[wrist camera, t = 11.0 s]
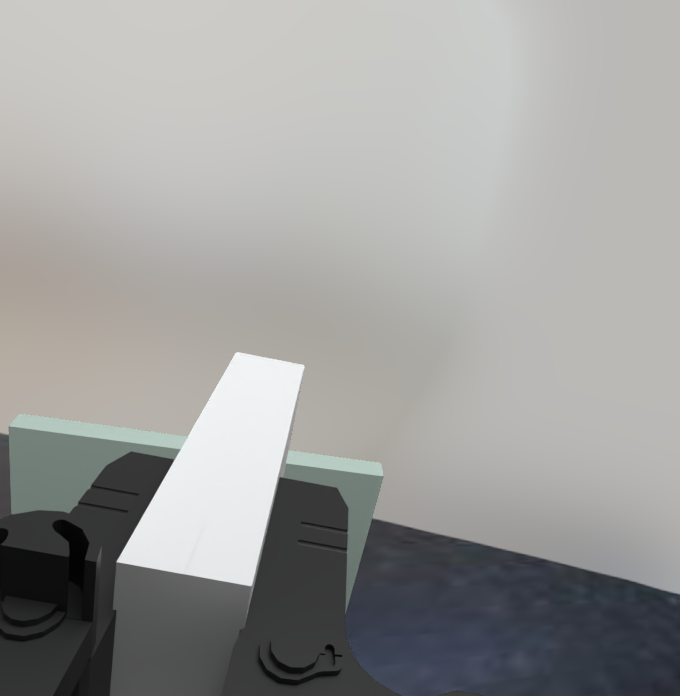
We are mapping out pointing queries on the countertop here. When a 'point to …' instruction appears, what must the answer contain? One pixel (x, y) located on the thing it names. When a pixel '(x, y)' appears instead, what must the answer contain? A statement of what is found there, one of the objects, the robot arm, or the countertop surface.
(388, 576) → the countertop surface
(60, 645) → the robot arm
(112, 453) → the grey-green angled piece
